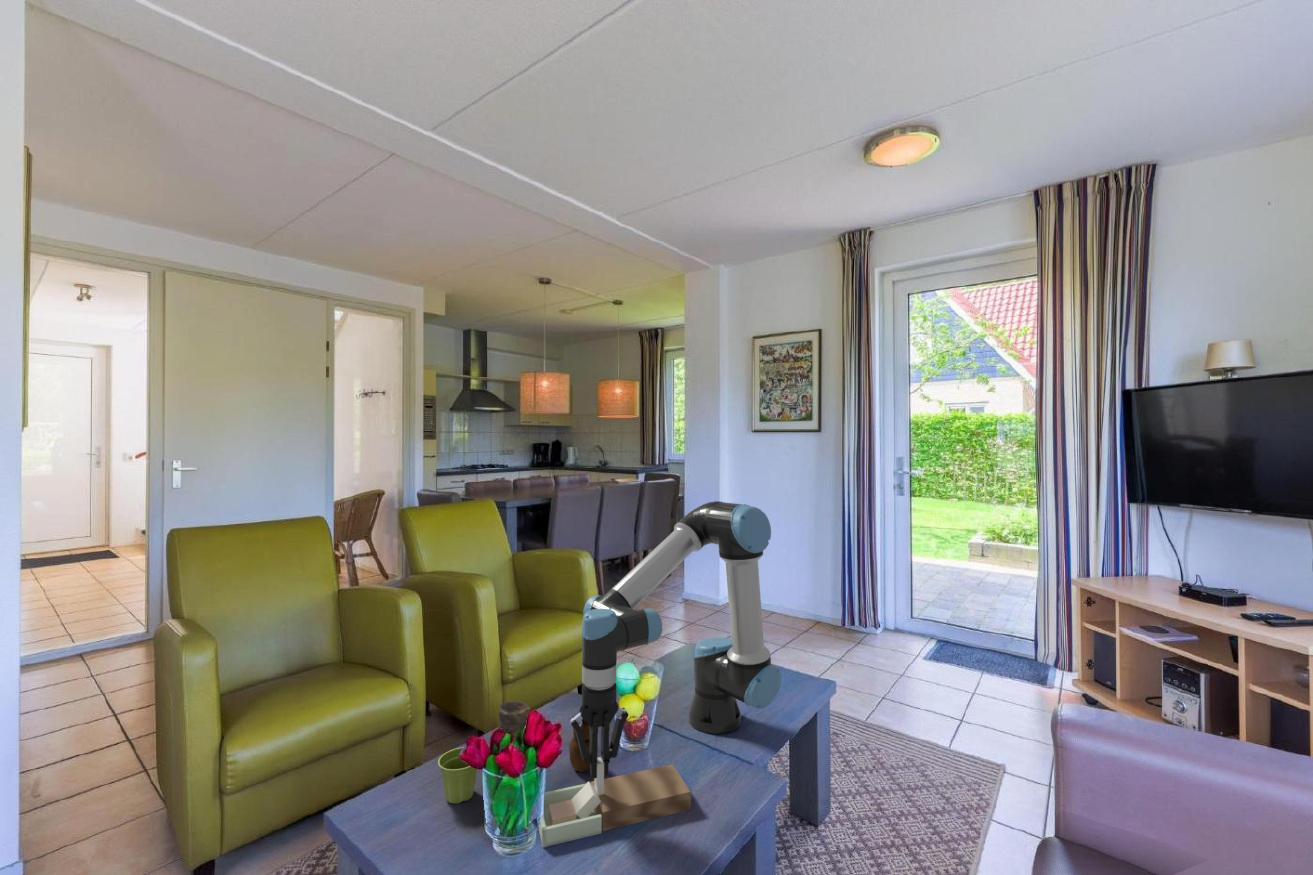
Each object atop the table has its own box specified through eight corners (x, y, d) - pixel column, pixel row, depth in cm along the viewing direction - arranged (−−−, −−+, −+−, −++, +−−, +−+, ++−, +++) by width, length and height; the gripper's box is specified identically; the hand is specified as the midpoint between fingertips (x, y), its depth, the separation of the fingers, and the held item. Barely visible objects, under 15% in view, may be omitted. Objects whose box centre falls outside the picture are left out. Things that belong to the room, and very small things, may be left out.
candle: (501, 782, 135) (501, 699, 134) (532, 781, 135) (533, 697, 135) (495, 803, 127) (495, 714, 127) (528, 801, 128) (528, 713, 127)
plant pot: (452, 780, 135) (452, 744, 135) (488, 785, 134) (488, 748, 134) (429, 806, 126) (429, 767, 126) (468, 811, 124) (468, 772, 124)
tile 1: (548, 804, 122) (548, 816, 122) (552, 819, 117) (552, 831, 117) (571, 799, 124) (571, 811, 124) (576, 814, 119) (576, 825, 119)
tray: (588, 798, 129) (588, 783, 129) (601, 833, 118) (601, 816, 118) (534, 810, 125) (534, 794, 125) (542, 847, 113) (542, 830, 113)
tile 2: (595, 788, 126) (588, 781, 125) (601, 801, 121) (593, 794, 120) (578, 806, 124) (571, 799, 124) (583, 821, 120) (576, 813, 119)
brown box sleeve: (672, 781, 135) (672, 764, 135) (690, 809, 125) (690, 791, 125) (590, 799, 129) (590, 781, 128) (602, 831, 118) (602, 812, 118)
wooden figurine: (598, 762, 143) (598, 703, 143) (594, 775, 137) (594, 714, 137) (572, 760, 144) (572, 701, 144) (566, 774, 138) (566, 712, 138)
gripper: (623, 671, 129) (622, 774, 129) (566, 680, 125) (566, 786, 125) (632, 685, 122) (632, 794, 122) (573, 694, 118) (573, 807, 118)
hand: (599, 790), depth 123 cm, fingers closed
